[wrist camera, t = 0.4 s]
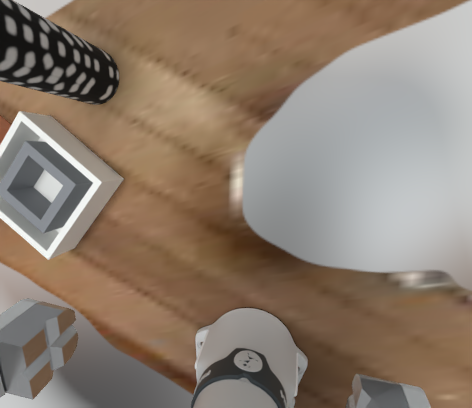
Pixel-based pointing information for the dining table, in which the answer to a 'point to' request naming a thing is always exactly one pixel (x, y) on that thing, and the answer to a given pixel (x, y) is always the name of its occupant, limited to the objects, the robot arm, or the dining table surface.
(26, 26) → the spotted tube
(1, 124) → the connector
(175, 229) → the dining table surface
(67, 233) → the walled box
